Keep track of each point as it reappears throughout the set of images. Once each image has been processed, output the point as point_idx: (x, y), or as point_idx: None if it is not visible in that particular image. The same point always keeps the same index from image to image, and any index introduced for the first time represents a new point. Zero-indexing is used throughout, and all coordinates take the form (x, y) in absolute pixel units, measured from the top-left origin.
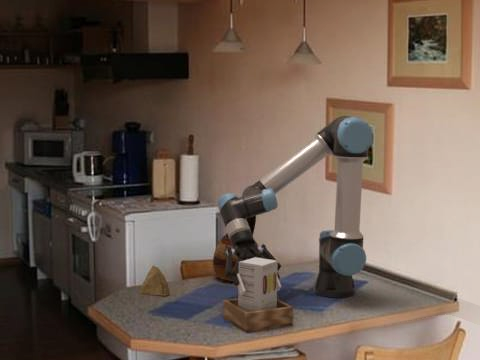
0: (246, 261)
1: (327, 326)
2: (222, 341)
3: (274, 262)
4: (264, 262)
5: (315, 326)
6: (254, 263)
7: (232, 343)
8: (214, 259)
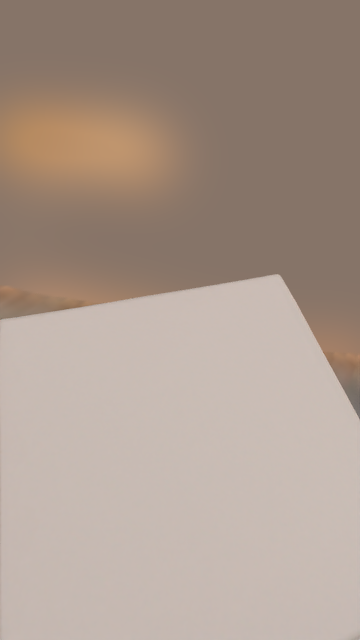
0: (351, 522)
1: (21, 291)
2: (353, 385)
3: (68, 310)
4: (191, 331)
5: (46, 312)
6: (307, 365)
7: (334, 356)
8: None
